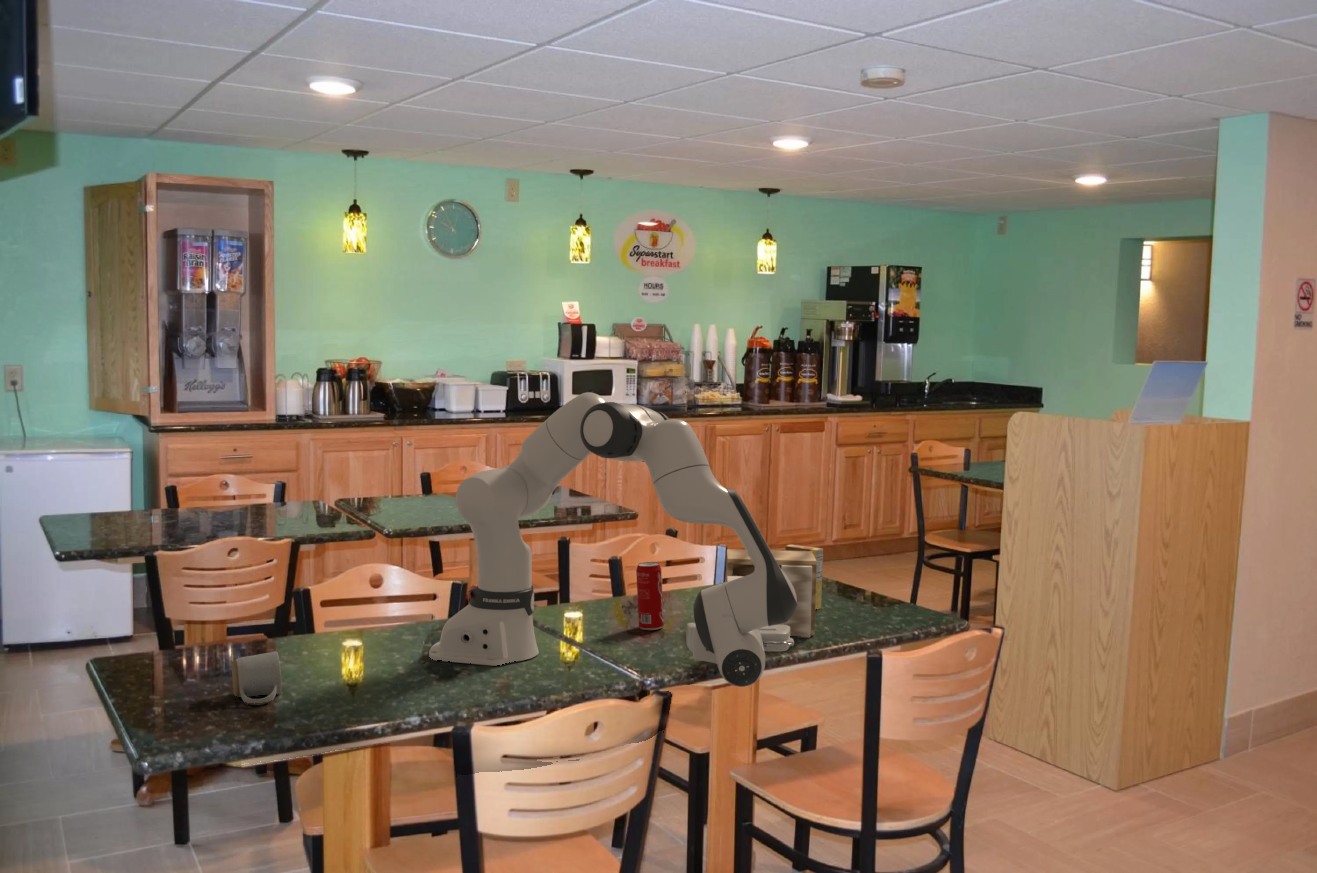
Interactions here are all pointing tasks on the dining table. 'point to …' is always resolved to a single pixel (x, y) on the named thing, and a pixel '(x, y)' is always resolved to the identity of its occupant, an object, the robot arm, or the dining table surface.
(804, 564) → the cabinet
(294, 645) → the dining table surface
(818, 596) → the candy box
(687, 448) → the robot arm
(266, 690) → the ceramic mug
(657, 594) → the beverage can
